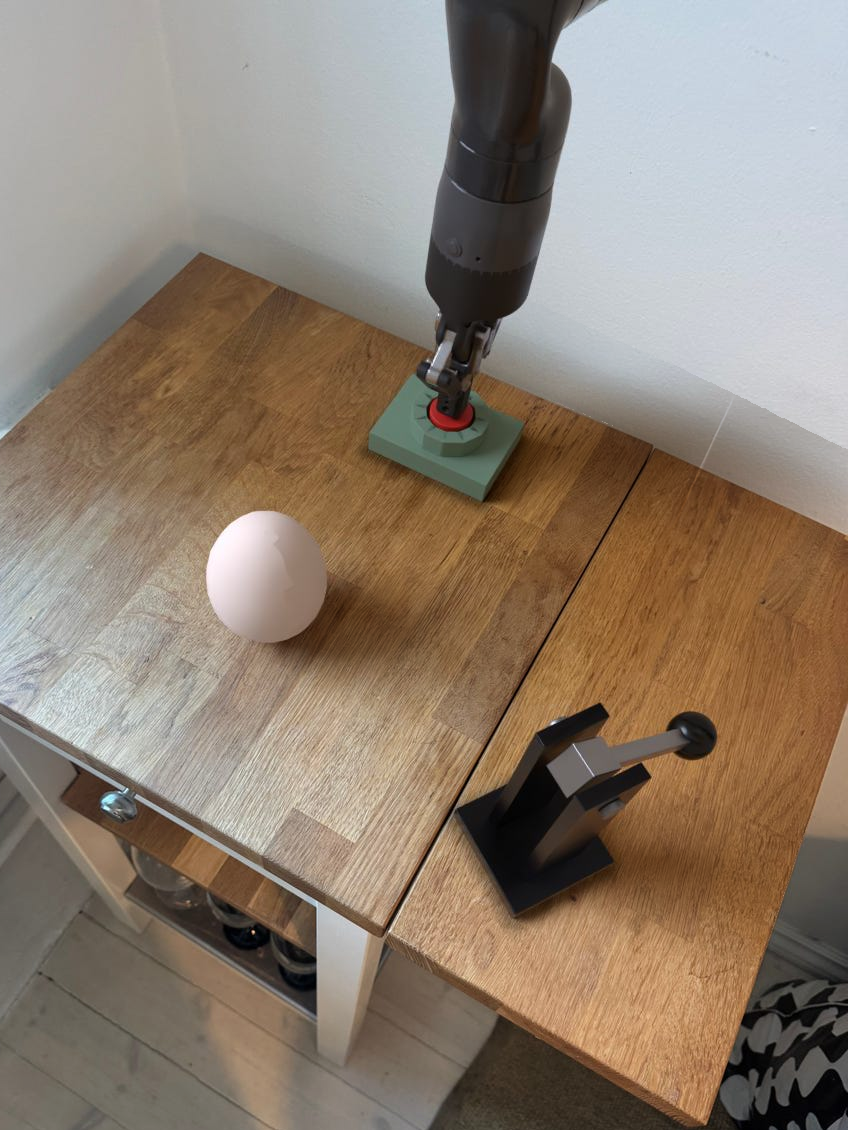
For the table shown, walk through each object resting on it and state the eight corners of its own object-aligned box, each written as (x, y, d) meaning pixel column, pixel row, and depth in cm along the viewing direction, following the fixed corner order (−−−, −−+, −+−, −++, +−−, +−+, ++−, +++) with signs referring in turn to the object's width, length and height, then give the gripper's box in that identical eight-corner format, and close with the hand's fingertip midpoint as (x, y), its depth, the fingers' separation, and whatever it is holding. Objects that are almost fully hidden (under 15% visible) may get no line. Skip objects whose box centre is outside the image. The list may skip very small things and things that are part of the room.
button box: (410, 390, 84) (414, 357, 80) (520, 440, 82) (529, 408, 78) (368, 449, 80) (370, 417, 77) (482, 502, 78) (490, 471, 75)
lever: (671, 725, 63) (706, 698, 61) (700, 765, 61) (736, 739, 59) (536, 761, 53) (572, 731, 51) (566, 810, 51) (605, 780, 49)
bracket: (548, 767, 67) (611, 667, 53) (610, 866, 64) (695, 787, 50) (452, 814, 65) (493, 723, 51) (511, 919, 61) (572, 851, 48)
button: (439, 403, 80) (441, 388, 78) (476, 420, 79) (479, 405, 78) (420, 430, 78) (422, 416, 77) (458, 447, 78) (461, 433, 76)
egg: (304, 558, 74) (305, 465, 64) (341, 647, 71) (347, 564, 61) (199, 586, 72) (182, 496, 62) (231, 680, 69) (218, 600, 59)
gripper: (497, 310, 59) (456, 482, 74) (575, 197, 64) (523, 378, 80) (392, 266, 60) (373, 444, 75) (478, 159, 66) (445, 345, 81)
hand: (450, 410), depth 77 cm, fingers closed
